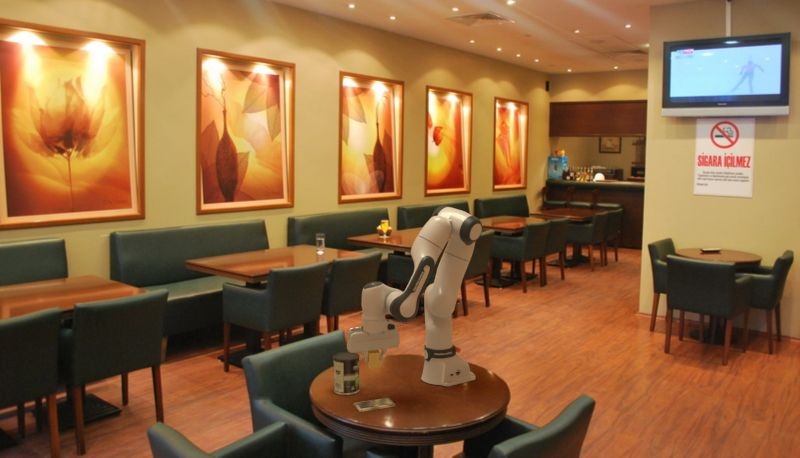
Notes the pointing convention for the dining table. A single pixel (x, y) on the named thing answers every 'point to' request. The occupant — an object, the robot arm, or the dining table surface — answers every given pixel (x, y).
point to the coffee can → (346, 373)
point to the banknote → (373, 404)
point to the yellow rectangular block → (374, 359)
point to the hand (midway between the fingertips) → (373, 360)
